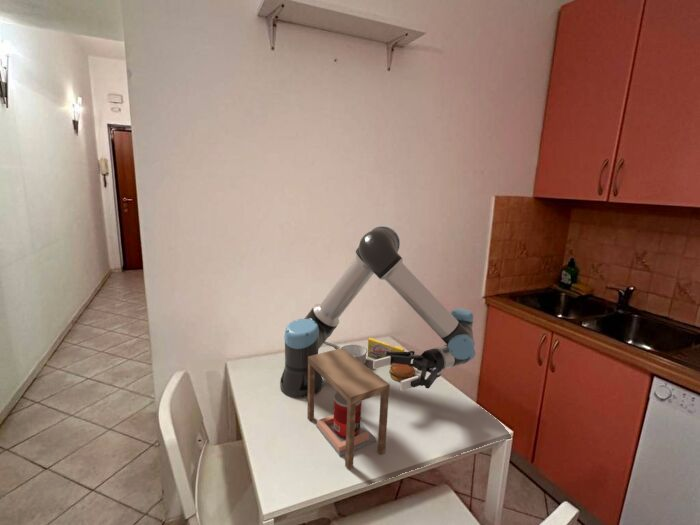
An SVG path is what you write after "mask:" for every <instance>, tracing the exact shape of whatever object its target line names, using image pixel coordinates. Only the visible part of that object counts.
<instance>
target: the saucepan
mask: <svg viewBox="0 0 700 525" xmlns="http://www.w3.org/2000/svg"><path fill="white" fill-rule="evenodd" d="M322 345H327V346H328V347H333V348H334V350H336V349H340V348H343V349H344V350H346V351H347V352H348V353H350V354H351V355H352V356H353V357H355V358H356V359H357V360H359V361H360V362H361V363H363V364H364V365H365V364H366V362H367V354H368V348H367V347H365V346H363V345H361V344H357V343H347V344H344V345H342V346H338V345H336V344H335V343H334V344H333V343H331V342H327V341H325V342H324V343H323V344H322Z"/></svg>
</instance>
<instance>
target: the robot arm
mask: <svg viewBox="0 0 700 525" xmlns="http://www.w3.org/2000/svg"><path fill="white" fill-rule="evenodd" d="M400 243H401V242H400V237H399V234H398V233H397V232H396V231H395V230H394V229H393V228H391V227H388V226H383V225H382V226H377V227H374V228H373V229H372V230H369V231H368V232H366V233H365V234H364V235H363V236H362V237H361V239H360V242H359V245H358V247H357V248H356V250H355V251H354V253H355V254H354V255H355V259H354V260H352V262H351V263H350V265H349V266H348V267H347V269H346V270H345V271H344V272H343V274H342V275H341V277H340V278H339V279H338V281H337V282H336V283H335V284H334V286H333V287H332V288H331V289H330V291H329V292H328V293H327V295H326V296H325V298H324V299H322V302H320V303H316V304H315V305H314V306H313V307H312V308H311V310H310V311H309V312H308V314H306V316H305V317H304V318H297V320H292V321H291V322H289V323H288V324H287V325H286V327H285V330H284V367H283V368H284V369H283V372H282V374H281V378H280V382H279V384H280V385H279V386H280V387H279V388H280V391H281V392H282V393H283V394H284V395H287V396H289V397H293V398H308V356H312V355H316V354H319V350H320V348H321V347H322V346H323V345H324V344H323V343H324V342H327V339H328V338H329V337H330V336H331V335H332V334H333V332H334V331H335V329H336V328H337V327H338V325H339V324H340V319H339V318H340V316H342V314H343V313H344V311H346V310H347V308H348V307H349V305H350V304H351V303H352V302H353V300H354V299H355V298H356V297H357V295H358V294H359V293H360V292H361V291H362V289H363V288H364V287H365V285H366V284H367V283H368V281H370V279H371V278H372V277H373V276H374V275H375V276H376V277H377V278H378V279H379V280H385V281H386V282H387V283H388V284H389V286H390V287H391V288H392V289H393V290H394V291H395V292H396V293H397V294H398V295H399V296H400V297H401V298H402V299H403V300H404V302H406V303H407V305H408V306H409V307H410V308H411V309H412V310H413V311H414V312H415V313H416V314H417V315H418V316H419V317H420V318H421V319H422V320H423V321H424V322H425V323H426V324H427V325H428V326H429V327H430V328H431V330H433V331H434V333H435V334H437V336H438V337H439V338H440V339H441V340H442V341H443V342H444V343H445V344H444V345H441V346H437V347H434V348H430V349H427V350H424V351H423V352H422V353H421V354H418V355H417V354H415V351H414V350H409V351H404V352H386V357H383V358H380V359H373V360H372V369H373V370H376V369H379V368H380V369H381V368H384V367H386V366H389V365H391V364H390V363H396V364H405V365H408V366H410V367H414V369H417V371H420V372H421V373H420V376H419V375H415V377H412V378H409V379H405V380H402V381H401V382H399V383H400V385H399V390H400V391H404V390H405V391H406V390H408V389H411V388H416V387H419V386H421V387H423V386H424V387H425V389H430V388H431V387H432V385H433V383H434V382H435V381H436V379H437V378H439V377H441V375H442V371H443V370H447V369H450V368H453V367H457V366H460V365H463V364H466V363H469V362H470V361H472V360H474V358H475V356H476V350H475V346H476V344H475V339H474V332H473V326H474V314H473V312H472V311H470V310H468V309H464V308H454V309H452V310H451V312H450V311H449V310H448V309H447V308H446V306H444V305H443V304H442V302H440V301H439V299H438V298H437V297H436V296H435V295H434V294H433V293H432V292H431V291H430V290H429V289H428V287H426V286H425V285H424V284H423V283H422V281H421V280H420V279H419V278H418V277H417V276H416V275H415V274H413V272H411V270H410V269H409V268H408V267H407V266H406V265H405V264H404V262H403V257H402V256H401V255H400V254H399V253H398V252H399V249H400V247H401V246H400ZM427 373H429V375H428V376H427ZM426 376H427V378H426ZM323 380H324V378H323V377H322V376H321V375H320V374H319V373H318V372H317V371H316V370H315V379H314V395H316V394H318V393H319V392H321V390H322V389H323Z"/></svg>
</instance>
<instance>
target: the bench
mask: <svg viewBox="0 0 700 525" xmlns="http://www.w3.org/2000/svg"><path fill="white" fill-rule="evenodd" d="M315 370H316V371H317V372H318V373H319V374H320V375H321V376H322V379H323V380H325V381H326V382H327V383H328V384H329V385H330V386H331V388H333V389H334V390H335V391H336V393H337V392H338V393H339V394H340V395H341V396H342V397H343V398H345V399H346V400H347V401H348V402H347V429H346V454H345V459H344V462H345V463H344V464H345V465H344V466H345V468H346V469H347V470H350V469H353V468H354V456H355V455H354V454H355V453H354V452H355V450H354V434H355V410H356V403H357V402H360V401H361V402H362V401H364V400H365V401H366V400H369V399H371V398H373V397H376V396H379V395H380V403H379V404H380V405H379V417H378V435H377V436H378V437H377V438H378V439H377V449H376V450H377V452H378V453H379V455H381V456H382V455H383V454H385V453H386V442H387V441H386V440H387V429H388V427H387V426H388V412H389V400H390V399H389V395H390V383H389V382H387V381H386V380H384V379H383V377H380V375H378V374H377V373H375V372H374V371H373V370H372V369H370V368H369V367H367V366H366V365H365V364H363V363H361V362H360V361H359V360H357V359H356V358H355V357H353V356H352V355H351V354H350V353H348V352H347V351H346V350H344V349H343V348H340V349H332V350H329V351H324V352H322V353H320V352H319V353H318V354H316V355H312V356H308V397H307V416H306V417H307V420H308V421H309V422H310V421H314V419H315V394H314V379H315Z"/></svg>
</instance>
